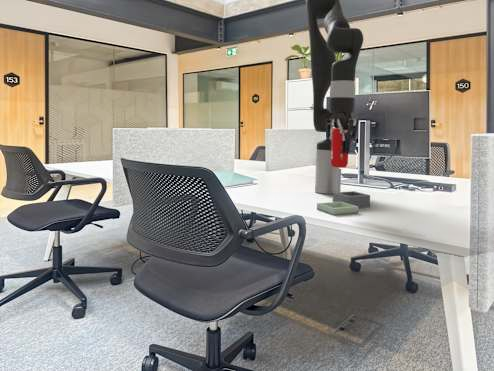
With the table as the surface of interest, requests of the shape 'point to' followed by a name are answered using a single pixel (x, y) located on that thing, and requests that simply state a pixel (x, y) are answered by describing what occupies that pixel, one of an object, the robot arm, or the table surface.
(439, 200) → the table surface
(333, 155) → the beverage can
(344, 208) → the tray
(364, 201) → the dark grey open box
